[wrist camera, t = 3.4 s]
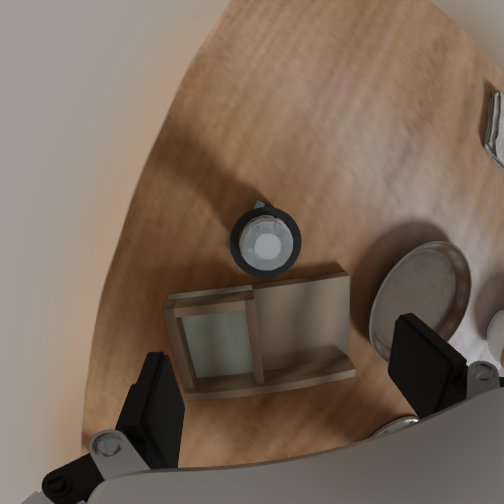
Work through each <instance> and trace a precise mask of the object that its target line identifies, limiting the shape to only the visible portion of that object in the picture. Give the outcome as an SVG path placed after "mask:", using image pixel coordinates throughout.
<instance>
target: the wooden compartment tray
mask: <svg viewBox="0 0 504 504" xmlns="http://www.w3.org/2000/svg"><path fill="white" fill-rule="evenodd" d="M162 311H163V315H164V319H165V323H166V327H167V331H168V335H169V339H170V342H171V346H172V349H173V353H174V356H175V360H176V363H177V367H178V370H179V373H180V377H181V380H182V383H183V386H184V389H185V396H186V399H187V401H202V400H216V399H227V398H237V397H246V396H254V395H262V394H269V393H276V392H282V391H288V390H294V389H299V388H305V387H310V386H315V385H320V384H325V383H329V382H334V381H338V380H343V379H347V378H351V377H355V372H356V369H355V367H354V365H353V364H352V362H351V361H350V359H349V357H348V356H347V353H348V336H349V311H350V275H349V274H348V273H347V272H345V271H344V272H338V273H331V274H324V275H318V276H311V277H304V278H297V279H290V280H283V281H275V282H268V283H260V284H253V285H245V286H237V287H229V288H221V289H212V290H204V291H195V292H186V293H177V294H169V296H168V298H167V300H166V302H165V305H164V307H163V309H162Z"/></svg>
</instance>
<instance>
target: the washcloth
mask: <svg viewBox="0 0 504 504" xmlns="http://www.w3.org/2000/svg"><path fill="white" fill-rule="evenodd" d="M491 93H492V97H491V99H490V101H489V107H488V116H487V117H488V118H487V125H486V130H485V137H484V148H485V149H486V151H487V152H488V154H489V156H490V157H491V158H492V159H493V160H494V162H495V163H496V164H497V165H498V166H499V167H500V168H501V169H502V170H503V171H504V94H503V92H501V91H499V90H498V91H497V92H496V93H494V92H493V91H491Z"/></svg>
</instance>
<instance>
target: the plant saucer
mask: <svg viewBox="0 0 504 504" xmlns="http://www.w3.org/2000/svg"><path fill="white" fill-rule="evenodd" d="M471 288H472V278H471V270H470V266H469V263H468V261H467V259H466V257H465V255H464V254H463V252H462V251H461V250H460V249H459V248H458V247H457V246H455V245H453V244H451V243H449V242H445V241H432V242H428V243H425V244H422V245H420V246H418V247H416V248H414V249H412V250H411V251H409V252H408V253H406V254H405V255H404V256H403V257H401V258H400V259H399V260H398V261H397V262H396V263H395V264H394V265H393V266H392V268H391V269H390V270H389V271H388V273H387V274H386V276H385V277H384V279H383V280H382V282H381V284H380V286H379V288H378V290H377V292H376V295H375V297H374V300H373V303H372V307H371V311H370V319H369V336H370V342H371V345H372V348H373V350H374V352H375V353H376V355H377V356H378V357H379V358H380V359H381V360H383V361H384V362H386V363H388V364H389V360H390V354H391V347H392V341H393V334H394V326H395V321H396V320H397V319H398V317H399V316H400V315H403V314H407V313H413V314H415V315H416V316H417V317H418V318H419V319H421V320H422V321H423V322H424V323H425V324H427V325H428V326H429V327H430V328H431V329H432V330H434V331H435V332H436V333H437V334H438V335H439V336H440V337H442V338H443V339H444V340H445V341H446V342H448V341H449V340H450V339H451V337H452V336H453V335H454V333H455V332H456V330H457V329H458V327H459V326H460V324H461V322H462V320H463V318H464V316H465V313H466V311H467V308H468V305H469V301H470V296H471Z"/></svg>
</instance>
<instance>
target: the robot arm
mask: <svg viewBox="0 0 504 504" xmlns="http://www.w3.org/2000/svg"><path fill="white" fill-rule="evenodd" d="M466 362H467V360H466V359H465V358H464V357H463V356H462V355H461V354H460V353H459V352H458V351H456V350H455V349H454V348H453V347H452V346H451V345H450V344H449V343H447V342H446V341H445V340H444V339H443V338H442V337H440V336H439V335H438V334H437V333H436V332H435V331H434V330H432V329H431V328H430V327H429V326H428V325H427V324H425V323H424V322H423V321H422V320H421V319H419V318H418V317H417V316H416V315H415V314H413V313H407V314H403V315H400V316H399V317H398V319H397V320H396V321H395V326H394V334H393V341H392V347H391V354H390V360H389V365H388V374H389V376H390V378H391V379H392V381H393V382H394V383H395V385H396V386H397V387H398V389H399V390H400V391H401V393H402V394H403V396H404V397H405V398H406V400H407V401H408V402H409V404H410V405H411V407H412V408H413V409H414V411H415V412H416V414H417V415H418V416H419V418H420V419H421V420H419V419H418V418H417V417H414V416H407V417H402V418H399V419H396V420H394V421H392V422H390V423H388V424H386V425H385V426H383V427H382V428H380V429H379V430H377V431H376V432H375V433H374V434H373V435H372V436H371V437H370V438H368V439H365V440H362V441H358V442H355V443H351V444H348V445H344V446H340V447H337V448H333V449H329V450H324V451H320V452H315V453H311V454H306V455H301V456H296V457H290V458H285V459H278V460H272V461H265V462H257V463H248V464H238V465H227V466H213V467H191V468H178V460H179V452H180V443H181V435H182V428H183V420H184V412H185V407H184V402H183V399H182V396H181V393H180V390H179V387H178V384H177V381H176V378H175V375H174V372H173V369H172V365H171V362H170V359H169V356H168V355H164V353H163V352H149V353H148V354H147V357H146V359H145V362H144V364H143V367H142V370H141V372H140V375H139V378H138V380H137V383H136V384H133V385H131V387H130V389H129V392H128V395H127V397H126V400H125V403H124V405H123V408H122V411H121V413H120V416H119V419H118V422H117V424H116V427H115V430H112V429H109V430H103V431H100V432H98V433H97V434H95V435H94V436H93V437H92V438H91V440H90V442H89V445H88V449H89V452H90V453H88V454H86V455H84V456H82V457H80V458H79V459H77V460H75V461H72V462H70V463H69V464H66V465H65V466H62V467H60V468H58V469H56V470H54V471H52V472H50V473H49V474H47V475H46V477H44V479H43V482H42V491H41V492H40V493H38V492H37V491H36V492H34V493H33V494H32V495H31V496H30V497H28V498H27V499H26V500H25V501H24V502H22V503H21V504H504V377H499V373H498V370H497V368H496V367H495V366H494V365H493V364H491V363H489V362H486V361H476V362H473V363H472V364H470V365H469V367H468V366H467V365H466Z"/></svg>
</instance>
